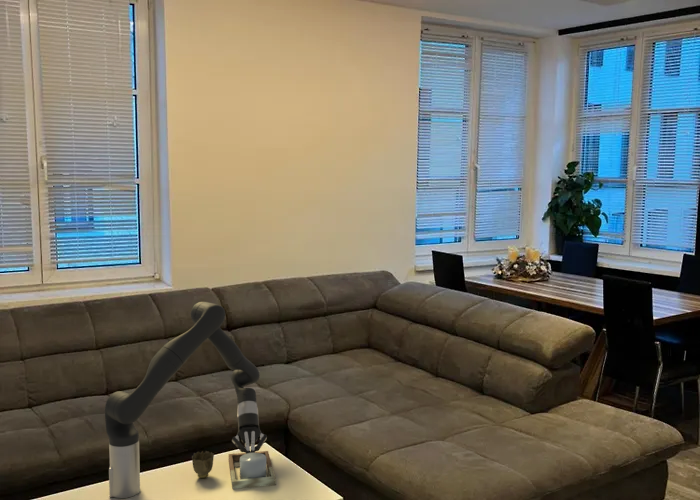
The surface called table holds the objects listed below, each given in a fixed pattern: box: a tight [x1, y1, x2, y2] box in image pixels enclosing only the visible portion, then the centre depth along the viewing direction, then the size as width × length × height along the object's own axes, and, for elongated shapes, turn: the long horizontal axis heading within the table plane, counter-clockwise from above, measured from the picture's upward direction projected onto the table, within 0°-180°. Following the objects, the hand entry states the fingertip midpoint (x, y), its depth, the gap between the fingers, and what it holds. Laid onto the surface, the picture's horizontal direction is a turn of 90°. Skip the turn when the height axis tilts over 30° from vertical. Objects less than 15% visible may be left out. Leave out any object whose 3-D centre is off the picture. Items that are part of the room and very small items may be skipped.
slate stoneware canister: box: [239, 453, 267, 479], centre depth 231 cm, size 9×9×8 cm
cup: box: [191, 450, 215, 480], centre depth 232 cm, size 8×7×8 cm
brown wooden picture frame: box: [228, 450, 277, 490], centre depth 237 cm, size 14×23×2 cm, turn 13°
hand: (251, 462), depth 236 cm, fingers closed
